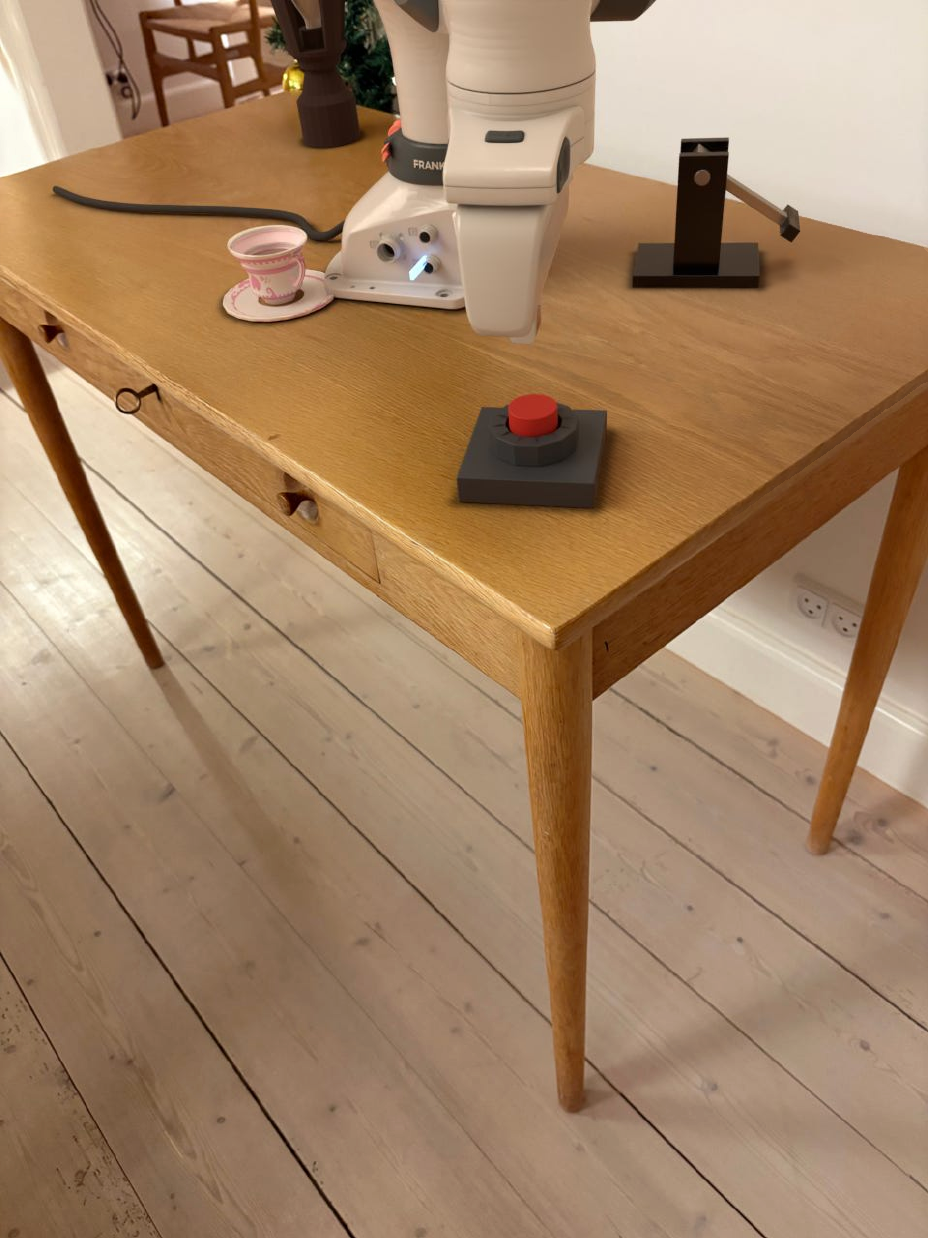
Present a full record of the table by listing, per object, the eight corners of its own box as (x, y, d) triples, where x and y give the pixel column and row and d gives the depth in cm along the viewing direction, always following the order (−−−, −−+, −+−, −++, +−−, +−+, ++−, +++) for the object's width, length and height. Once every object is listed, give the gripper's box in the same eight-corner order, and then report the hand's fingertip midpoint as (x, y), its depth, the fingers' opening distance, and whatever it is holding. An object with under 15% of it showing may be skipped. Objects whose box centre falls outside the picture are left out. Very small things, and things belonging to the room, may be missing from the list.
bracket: (757, 253, 103) (770, 130, 95) (758, 287, 97) (772, 159, 89) (637, 254, 105) (641, 134, 97) (632, 287, 99) (635, 162, 92)
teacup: (200, 308, 105) (184, 249, 101) (284, 265, 111) (272, 209, 107) (278, 334, 99) (264, 273, 94) (362, 288, 105) (353, 228, 101)
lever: (785, 227, 99) (802, 206, 97) (787, 247, 95) (804, 226, 94) (683, 160, 97) (699, 138, 95) (681, 179, 93) (697, 155, 92)
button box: (459, 502, 75) (454, 456, 72) (483, 430, 82) (479, 386, 79) (594, 508, 73) (594, 461, 70) (607, 434, 80) (607, 389, 77)
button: (505, 438, 74) (504, 417, 73) (513, 413, 77) (512, 392, 76) (554, 440, 73) (553, 419, 72) (560, 414, 76) (560, 393, 75)
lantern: (387, 147, 139) (352, -122, 119) (280, 161, 138) (227, -106, 118) (379, 116, 150) (346, -134, 130) (280, 129, 149) (231, -120, 129)
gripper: (499, 73, 69) (506, 269, 78) (434, 185, 55) (452, 408, 64) (591, 72, 68) (587, 271, 77) (550, 186, 53) (551, 413, 63)
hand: (525, 334), depth 71 cm, fingers closed
